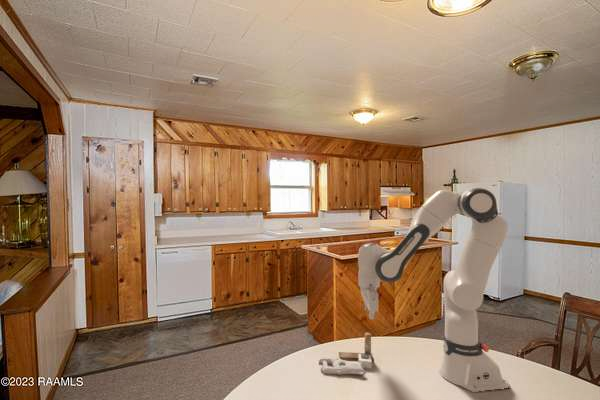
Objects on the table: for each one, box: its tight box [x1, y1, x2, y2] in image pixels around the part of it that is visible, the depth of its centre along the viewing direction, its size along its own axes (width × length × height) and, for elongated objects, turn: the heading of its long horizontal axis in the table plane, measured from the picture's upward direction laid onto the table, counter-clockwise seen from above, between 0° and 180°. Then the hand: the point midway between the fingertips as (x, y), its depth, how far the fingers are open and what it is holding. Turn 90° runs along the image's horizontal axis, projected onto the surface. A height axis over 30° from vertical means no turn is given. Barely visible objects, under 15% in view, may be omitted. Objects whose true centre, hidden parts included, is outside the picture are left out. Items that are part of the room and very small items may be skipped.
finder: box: [357, 354, 373, 370], centre depth 117 cm, size 5×5×3 cm
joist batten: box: [338, 351, 375, 362], centre depth 122 cm, size 14×4×1 cm, turn 87°
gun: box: [318, 356, 367, 376], centre depth 114 cm, size 18×4×10 cm
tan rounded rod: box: [364, 332, 372, 355], centre depth 122 cm, size 3×3×9 cm
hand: (369, 314), depth 122 cm, fingers open, 8 cm apart
